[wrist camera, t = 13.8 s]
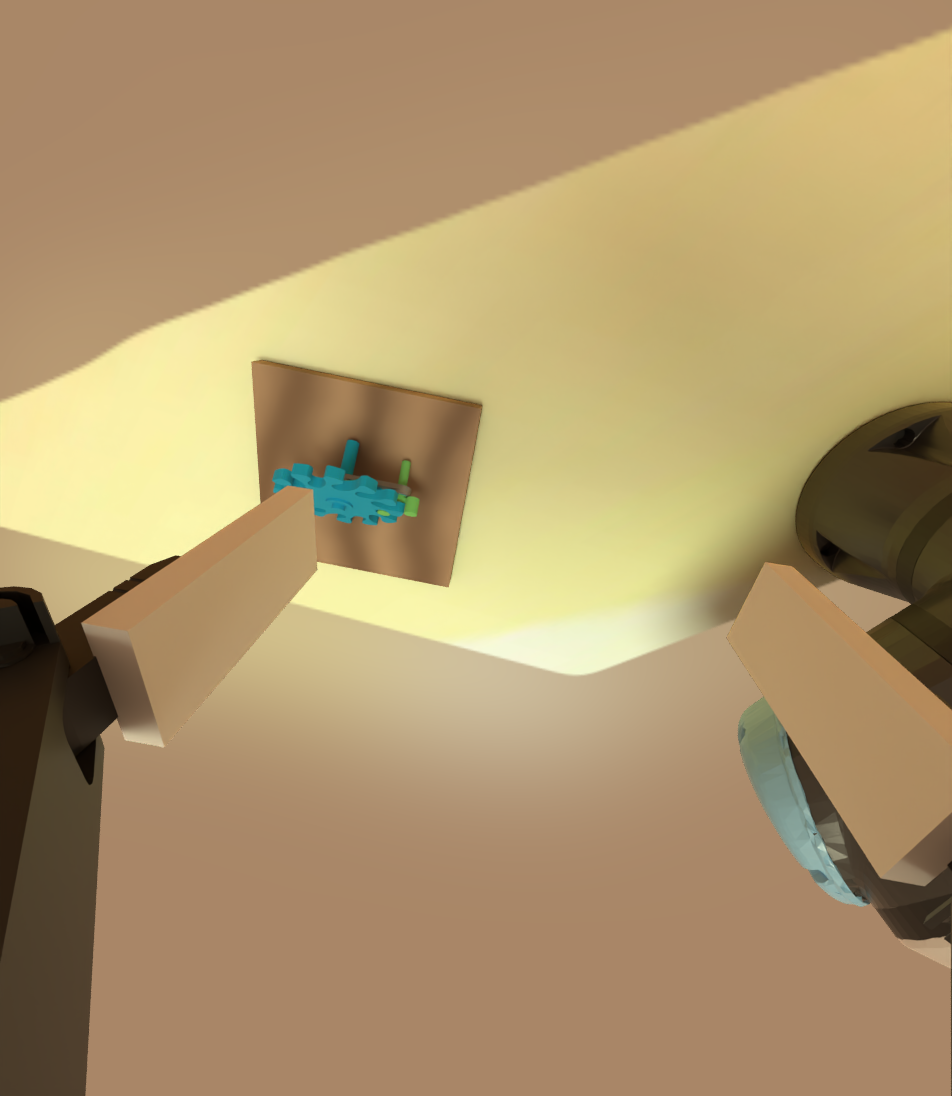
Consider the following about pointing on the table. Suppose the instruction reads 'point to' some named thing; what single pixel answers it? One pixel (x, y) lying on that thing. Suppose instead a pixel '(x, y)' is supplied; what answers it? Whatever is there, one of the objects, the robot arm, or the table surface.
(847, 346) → the table surface
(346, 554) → the mount plate
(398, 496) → the gear
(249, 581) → the robot arm
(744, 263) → the table surface
